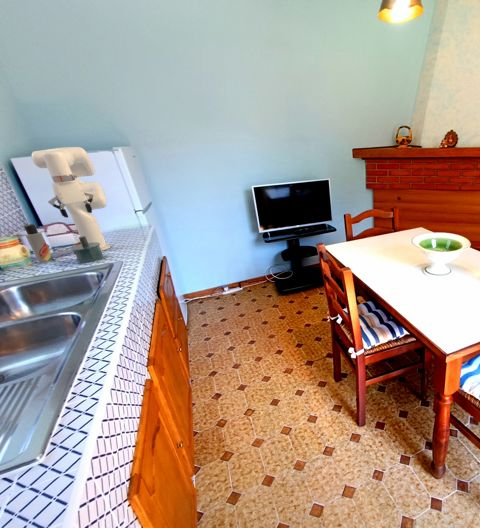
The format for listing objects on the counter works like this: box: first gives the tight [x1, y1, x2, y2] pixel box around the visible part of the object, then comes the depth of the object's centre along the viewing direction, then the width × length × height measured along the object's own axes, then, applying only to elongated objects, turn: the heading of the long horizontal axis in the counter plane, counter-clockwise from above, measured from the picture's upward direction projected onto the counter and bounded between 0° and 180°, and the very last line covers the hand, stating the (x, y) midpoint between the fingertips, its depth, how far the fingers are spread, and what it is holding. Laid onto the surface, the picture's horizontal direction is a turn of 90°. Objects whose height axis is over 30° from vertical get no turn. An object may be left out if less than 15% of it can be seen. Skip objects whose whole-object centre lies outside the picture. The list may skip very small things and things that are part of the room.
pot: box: [73, 246, 105, 264], centre depth 151 cm, size 10×10×7 cm
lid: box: [71, 236, 100, 252], centre depth 149 cm, size 11×11×6 cm
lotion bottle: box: [23, 223, 55, 264], centre depth 149 cm, size 6×6×20 cm
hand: (78, 214), depth 147 cm, fingers open, 9 cm apart
